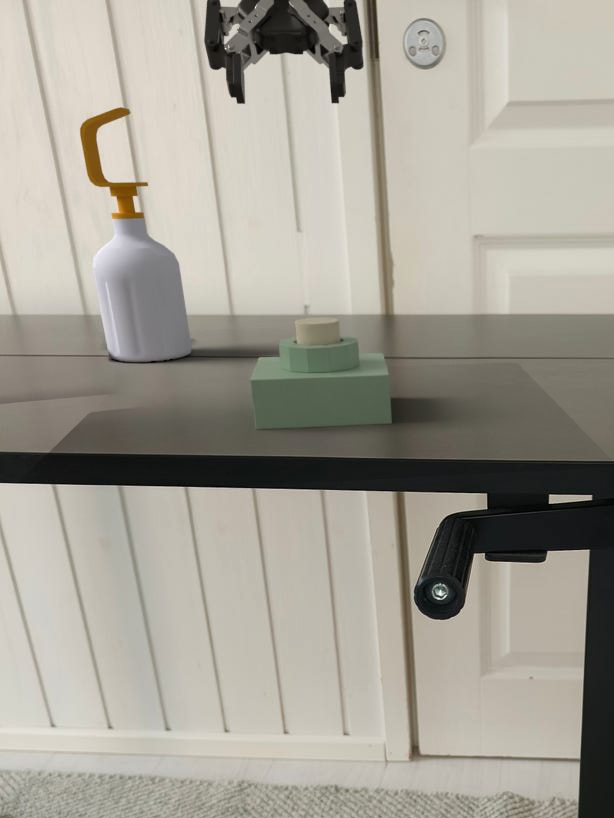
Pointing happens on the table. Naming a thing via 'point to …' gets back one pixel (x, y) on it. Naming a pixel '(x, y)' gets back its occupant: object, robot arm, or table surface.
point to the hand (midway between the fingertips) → (287, 95)
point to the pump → (317, 331)
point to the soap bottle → (135, 273)
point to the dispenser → (320, 386)
